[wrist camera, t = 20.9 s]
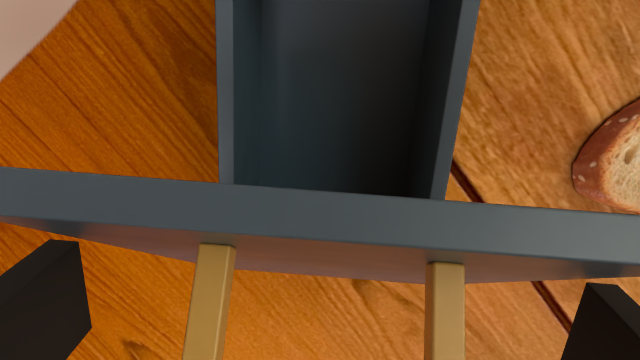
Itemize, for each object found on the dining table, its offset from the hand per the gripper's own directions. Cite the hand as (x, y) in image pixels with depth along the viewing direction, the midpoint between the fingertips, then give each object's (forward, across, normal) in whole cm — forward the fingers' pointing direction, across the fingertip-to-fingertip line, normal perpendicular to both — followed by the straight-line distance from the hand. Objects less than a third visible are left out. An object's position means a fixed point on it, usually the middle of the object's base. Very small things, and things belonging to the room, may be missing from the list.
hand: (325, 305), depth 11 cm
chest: (+22, 0, +2) cm, 22 cm away
